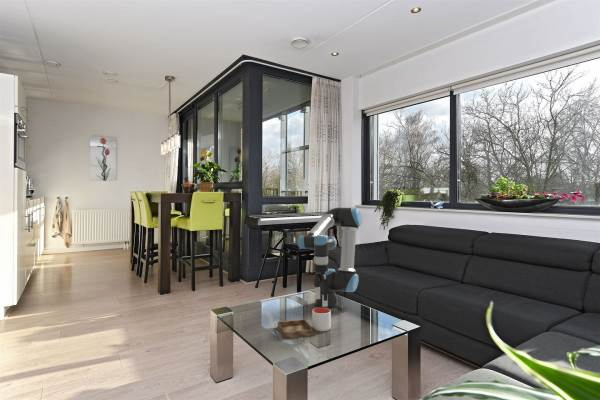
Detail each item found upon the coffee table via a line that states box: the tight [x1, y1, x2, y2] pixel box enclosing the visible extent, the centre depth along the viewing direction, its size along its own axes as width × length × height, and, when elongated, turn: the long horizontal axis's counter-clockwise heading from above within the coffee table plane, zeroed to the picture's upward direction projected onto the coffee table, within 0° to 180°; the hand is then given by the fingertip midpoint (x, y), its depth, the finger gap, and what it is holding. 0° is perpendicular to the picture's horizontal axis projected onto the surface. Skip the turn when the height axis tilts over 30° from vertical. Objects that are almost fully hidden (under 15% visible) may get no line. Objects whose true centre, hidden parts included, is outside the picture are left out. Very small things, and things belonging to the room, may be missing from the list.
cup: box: [311, 307, 332, 332], centre depth 194 cm, size 10×10×10 cm
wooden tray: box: [277, 318, 314, 340], centre depth 190 cm, size 16×16×3 cm
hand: (321, 302), depth 193 cm, fingers open, 13 cm apart
